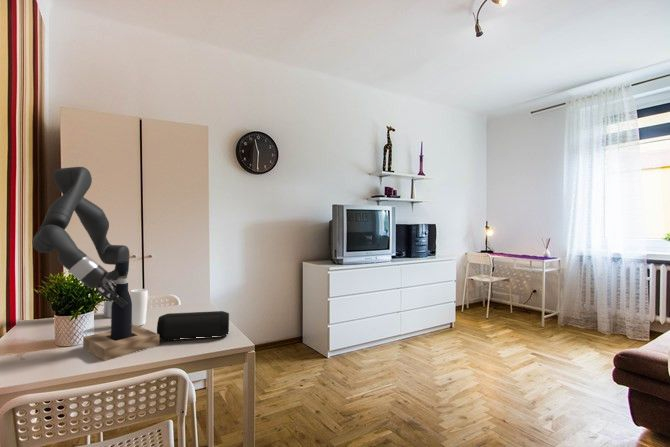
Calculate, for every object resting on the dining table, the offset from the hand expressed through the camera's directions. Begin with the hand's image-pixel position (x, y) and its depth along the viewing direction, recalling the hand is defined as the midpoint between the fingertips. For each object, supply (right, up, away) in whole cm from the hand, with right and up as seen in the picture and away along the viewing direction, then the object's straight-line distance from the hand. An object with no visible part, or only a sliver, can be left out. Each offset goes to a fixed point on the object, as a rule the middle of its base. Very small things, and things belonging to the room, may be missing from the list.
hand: (127, 303), depth 128 cm
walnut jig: (-2, -16, 0) cm, 16 cm away
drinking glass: (-10, -15, +25) cm, 31 cm away
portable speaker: (+20, -16, +11) cm, 28 cm away
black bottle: (-2, -15, 0) cm, 15 cm away
